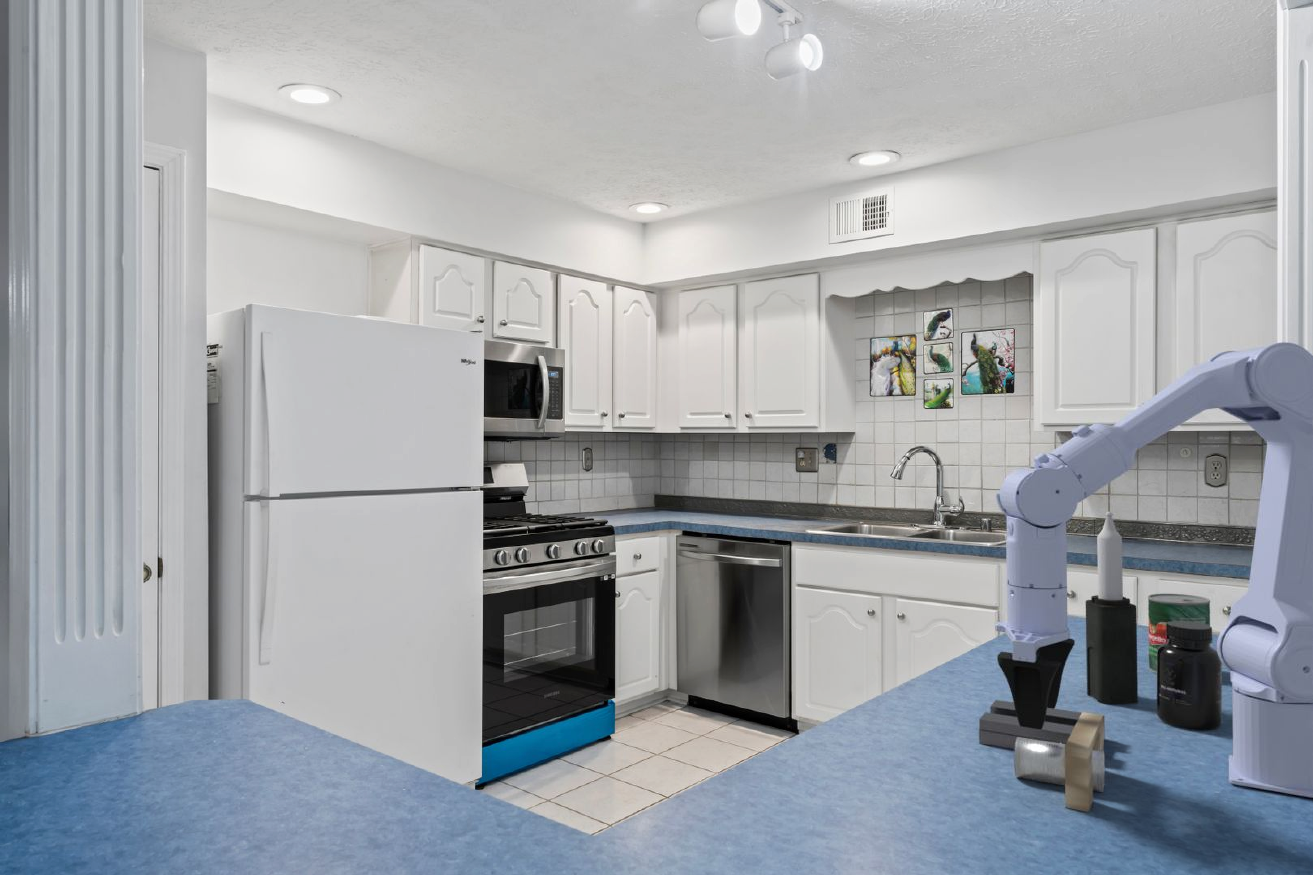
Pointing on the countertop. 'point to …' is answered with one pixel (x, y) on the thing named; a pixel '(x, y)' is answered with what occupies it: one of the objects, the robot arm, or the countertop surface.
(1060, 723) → the v block
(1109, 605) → the candle
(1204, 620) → the canned tomato
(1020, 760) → the silver metal cylinder
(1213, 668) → the supplement bottle
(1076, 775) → the beam
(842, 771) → the countertop surface
